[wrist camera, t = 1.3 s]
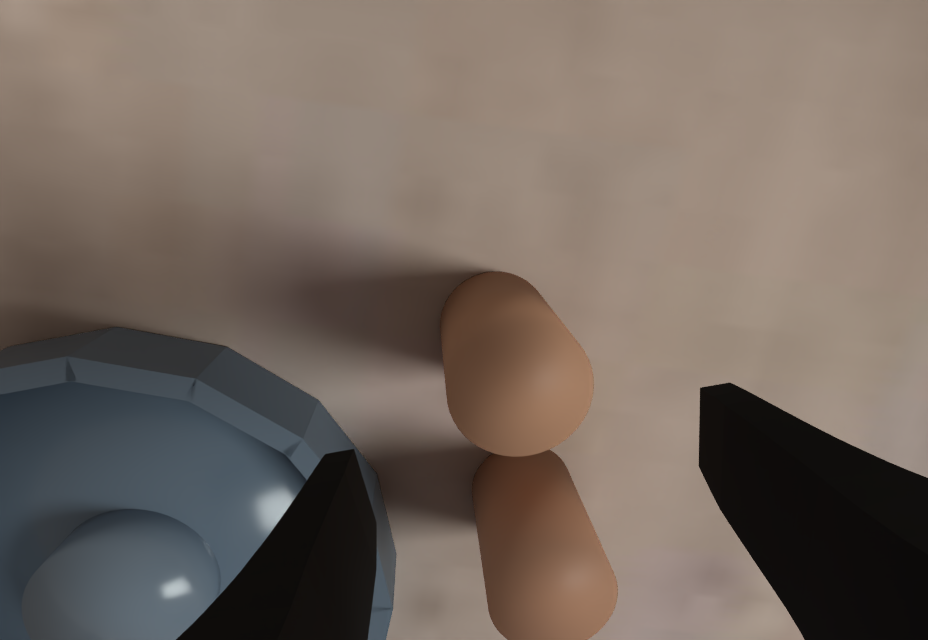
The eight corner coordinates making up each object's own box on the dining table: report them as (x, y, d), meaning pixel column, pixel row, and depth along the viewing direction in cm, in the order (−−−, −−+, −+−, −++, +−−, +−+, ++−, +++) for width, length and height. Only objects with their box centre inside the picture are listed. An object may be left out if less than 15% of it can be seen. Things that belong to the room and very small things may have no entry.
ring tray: (431, 693, 26) (432, 760, 23) (8, 776, 26) (-44, 854, 23) (330, 287, 21) (315, 310, 18) (-209, 386, 20) (-313, 426, 17)
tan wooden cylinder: (554, 364, 22) (600, 442, 16) (450, 384, 22) (460, 468, 16) (540, 262, 21) (585, 306, 15) (430, 282, 21) (433, 334, 15)
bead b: (575, 520, 24) (623, 637, 18) (480, 538, 24) (499, 661, 18) (564, 435, 23) (611, 531, 17) (464, 454, 23) (477, 556, 17)
